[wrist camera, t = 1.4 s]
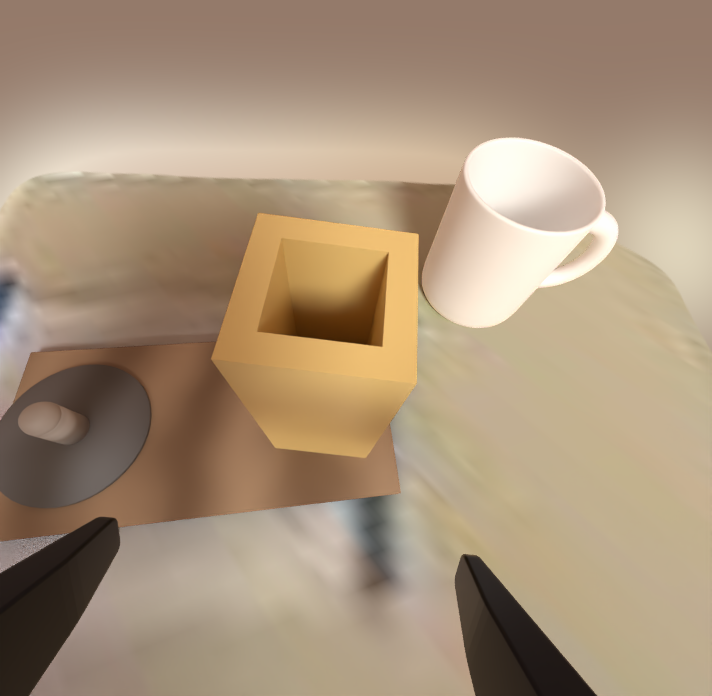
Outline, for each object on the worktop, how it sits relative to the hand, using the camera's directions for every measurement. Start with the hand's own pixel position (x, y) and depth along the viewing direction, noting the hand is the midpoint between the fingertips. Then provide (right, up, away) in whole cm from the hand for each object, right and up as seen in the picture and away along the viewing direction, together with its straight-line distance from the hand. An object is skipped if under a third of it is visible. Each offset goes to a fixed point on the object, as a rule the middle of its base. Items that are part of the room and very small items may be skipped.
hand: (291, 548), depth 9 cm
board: (-8, 0, +13) cm, 15 cm away
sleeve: (0, +1, +13) cm, 13 cm away
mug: (+13, +10, +20) cm, 26 cm away
